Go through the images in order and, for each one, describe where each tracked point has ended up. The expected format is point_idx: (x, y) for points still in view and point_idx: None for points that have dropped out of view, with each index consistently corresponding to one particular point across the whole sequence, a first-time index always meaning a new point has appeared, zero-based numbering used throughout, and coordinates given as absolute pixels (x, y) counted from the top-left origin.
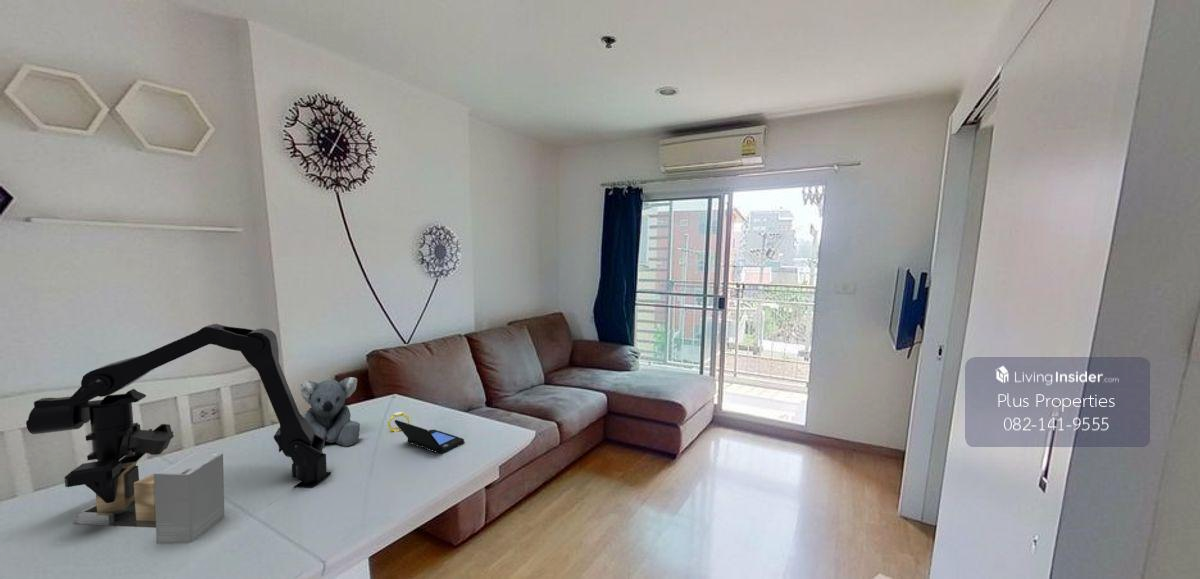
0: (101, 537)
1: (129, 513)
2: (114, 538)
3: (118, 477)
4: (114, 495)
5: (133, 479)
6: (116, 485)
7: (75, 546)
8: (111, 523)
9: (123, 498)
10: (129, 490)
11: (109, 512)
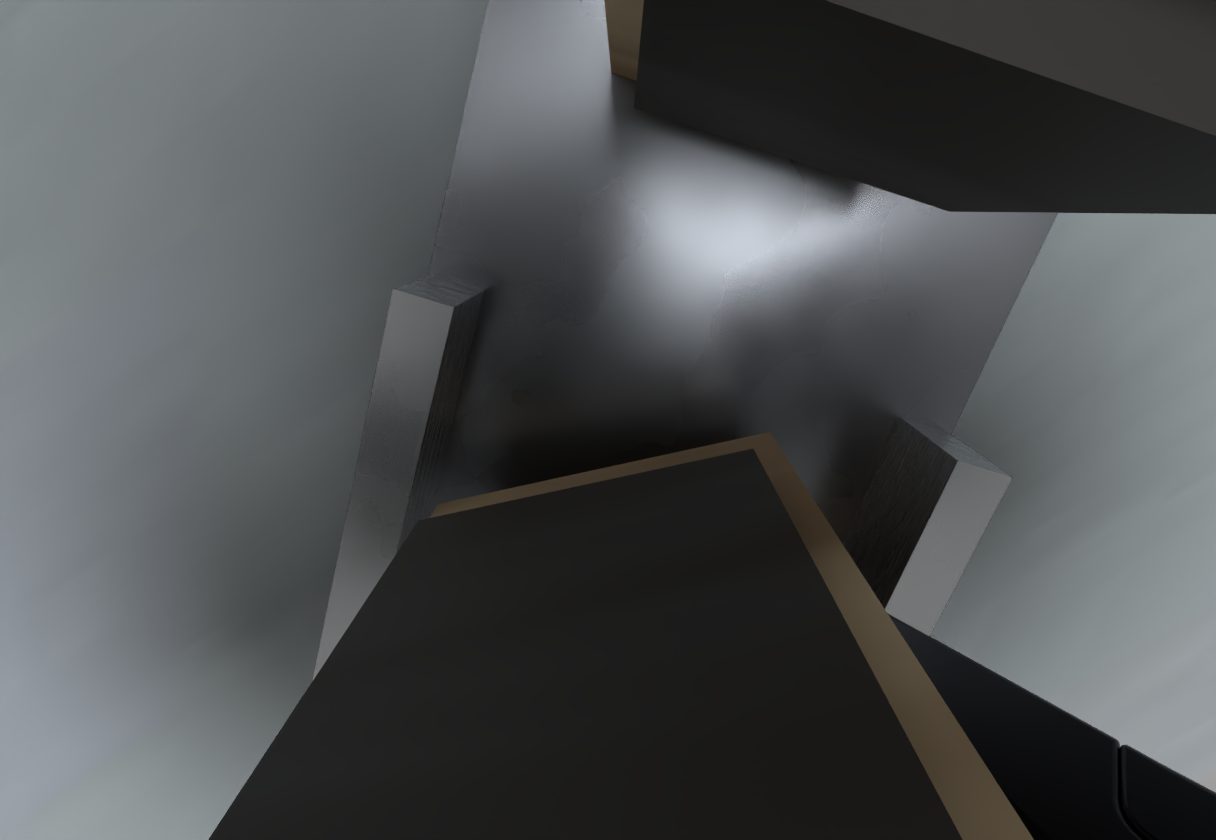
0: (986, 417)
1: (719, 388)
2: (1067, 269)
3: None
4: (923, 642)
5: (574, 648)
6: (1029, 783)
7: (1071, 537)
8: (925, 427)
9: (811, 509)
10: (781, 506)
11: None
